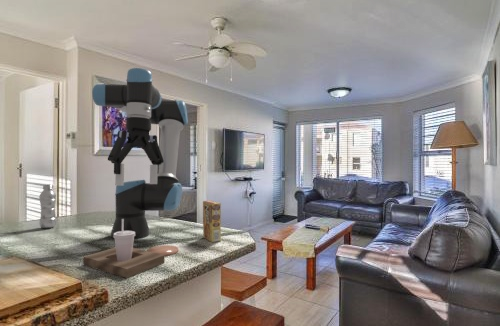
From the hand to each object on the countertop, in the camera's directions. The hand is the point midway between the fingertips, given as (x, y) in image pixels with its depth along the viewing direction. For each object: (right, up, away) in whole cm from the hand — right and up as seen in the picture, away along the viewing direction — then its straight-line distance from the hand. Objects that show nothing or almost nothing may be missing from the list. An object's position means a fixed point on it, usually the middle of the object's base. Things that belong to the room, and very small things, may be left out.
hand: (137, 184), depth 96 cm
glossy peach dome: (+5, -24, +11) cm, 27 cm away
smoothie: (-3, -25, -2) cm, 25 cm away
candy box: (+20, -25, +28) cm, 42 cm away
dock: (-3, -25, -2) cm, 25 cm away
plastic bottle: (-58, -23, +44) cm, 77 cm away
